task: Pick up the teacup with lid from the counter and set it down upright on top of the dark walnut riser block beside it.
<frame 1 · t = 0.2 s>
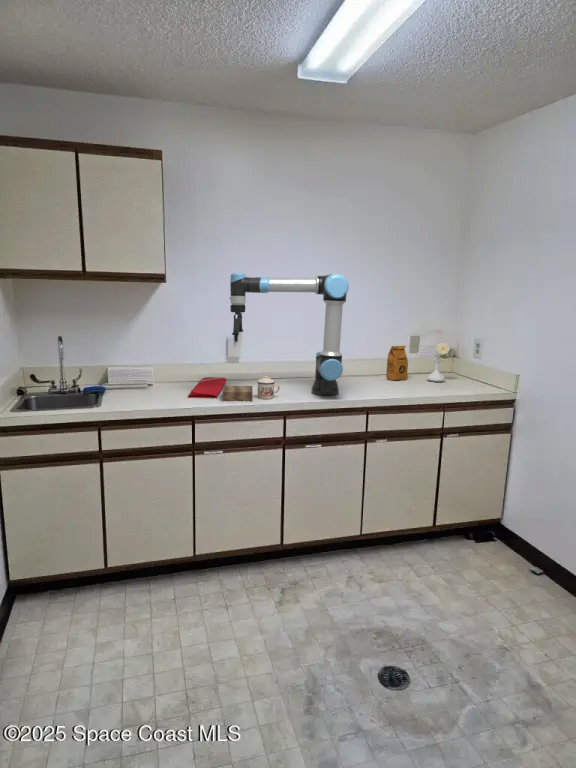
hand: (237, 346, 262), 27 cm above the worktop, tool pointing down, fingers open, 13 cm apart
coffee package: (396, 380, 327), on the worktop
flower in vase: (436, 381, 325), on the worktop
walnut riser: (237, 398, 267), on the worktop
teacup with lid: (268, 397, 270), on the worktop
dish drying mat: (208, 390, 285), on the worktop
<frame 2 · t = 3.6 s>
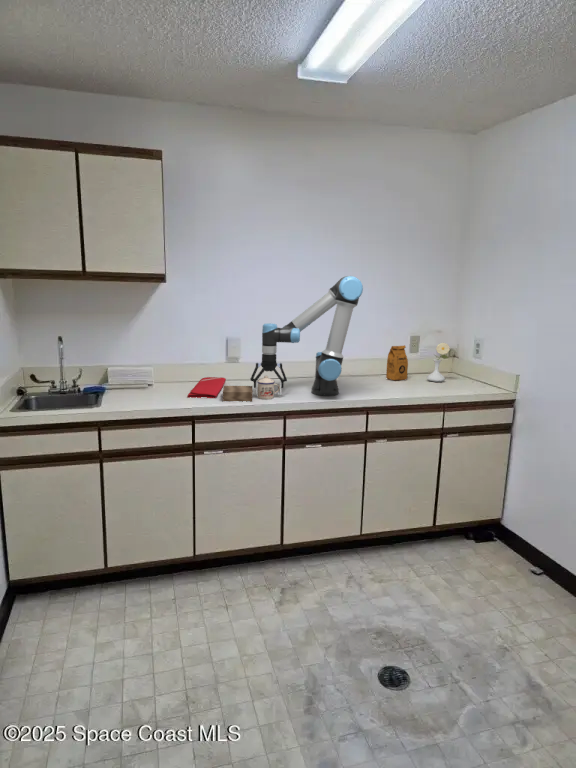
hand: (268, 394, 270), 2 cm above the worktop, tool pointing down, fingers closed on teacup with lid, 12 cm apart
teacup with lid: (268, 397, 270), on the worktop, touching gripper
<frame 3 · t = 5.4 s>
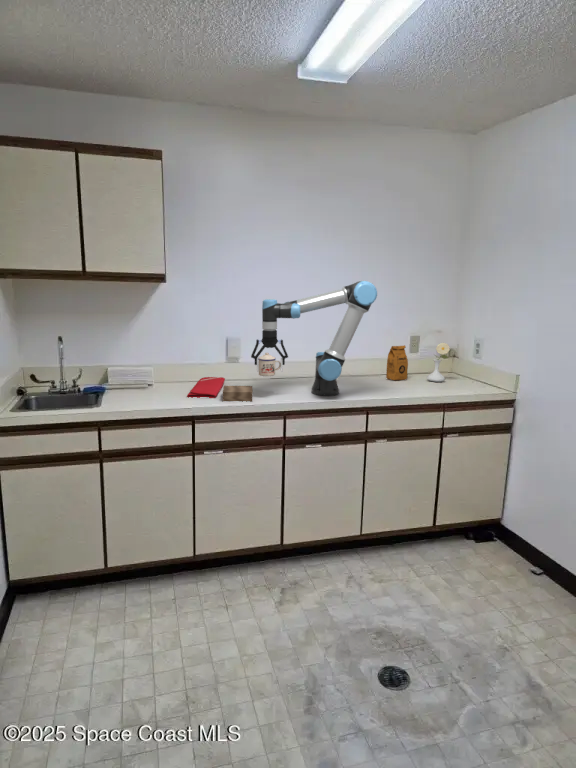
hand: (269, 371, 267), 14 cm above the worktop, tool pointing down, fingers closed on teacup with lid, 12 cm apart
teacup with lid: (269, 375, 268), point 12 cm above the worktop, touching gripper
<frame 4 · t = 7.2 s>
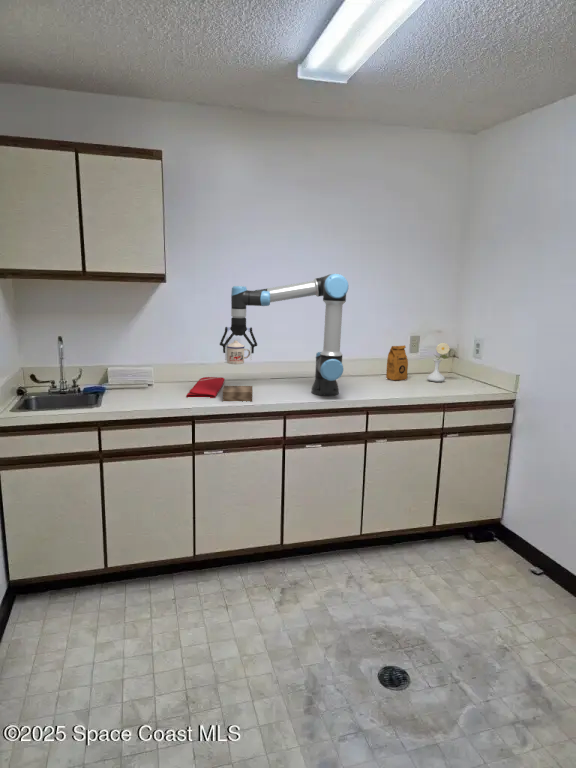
hand: (238, 359, 263), 20 cm above the worktop, tool pointing down, fingers closed on teacup with lid, 12 cm apart
teacup with lid: (238, 363, 263), point 18 cm above the worktop, touching gripper
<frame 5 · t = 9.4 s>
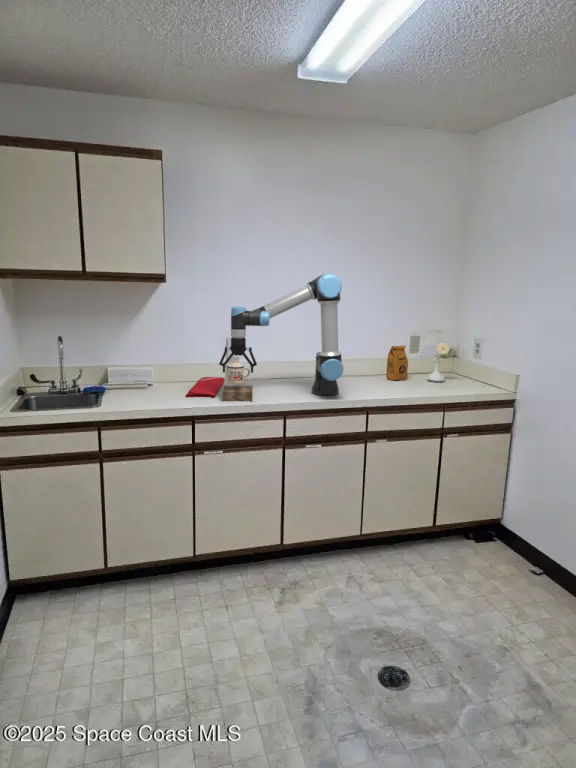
hand: (238, 378, 265), 10 cm above the worktop, tool pointing down, fingers closed on teacup with lid, 12 cm apart
teacup with lid: (238, 382, 265), point 8 cm above the worktop, touching gripper
when the fingers open (8 cm above the worktop, at t = 11.1 s): teacup with lid drops 1 cm, resting on walnut riser.
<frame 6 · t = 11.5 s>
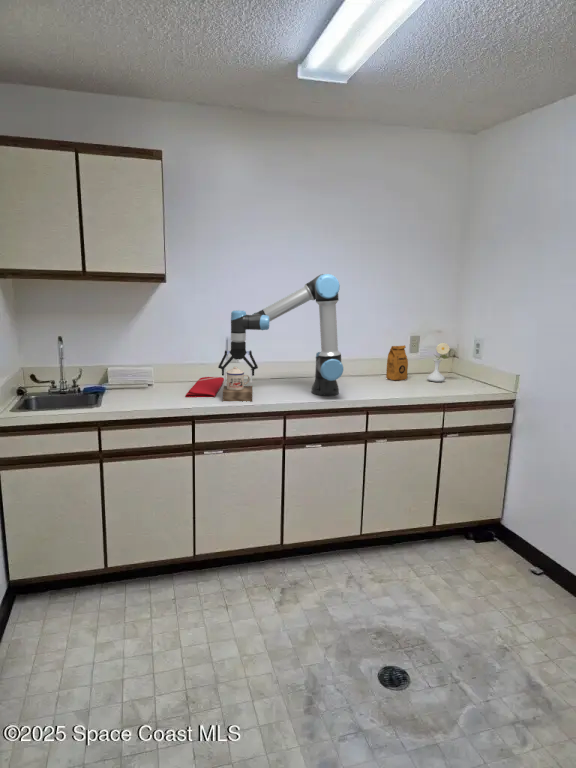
hand: (238, 381, 265), 9 cm above the worktop, tool pointing down, fingers open, 13 cm apart
teacup with lid: (238, 389, 266), point 5 cm above the worktop, touching walnut riser
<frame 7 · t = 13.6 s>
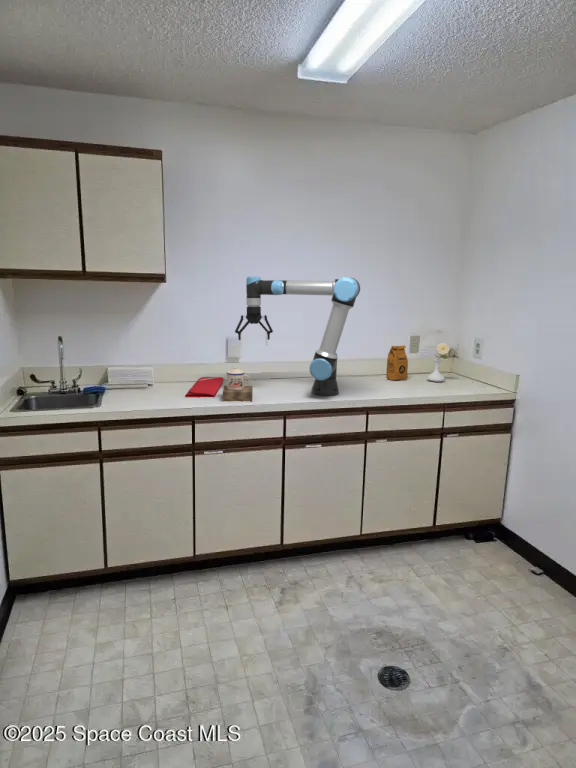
hand: (254, 346, 275), 26 cm above the worktop, tool pointing down, fingers open, 13 cm apart
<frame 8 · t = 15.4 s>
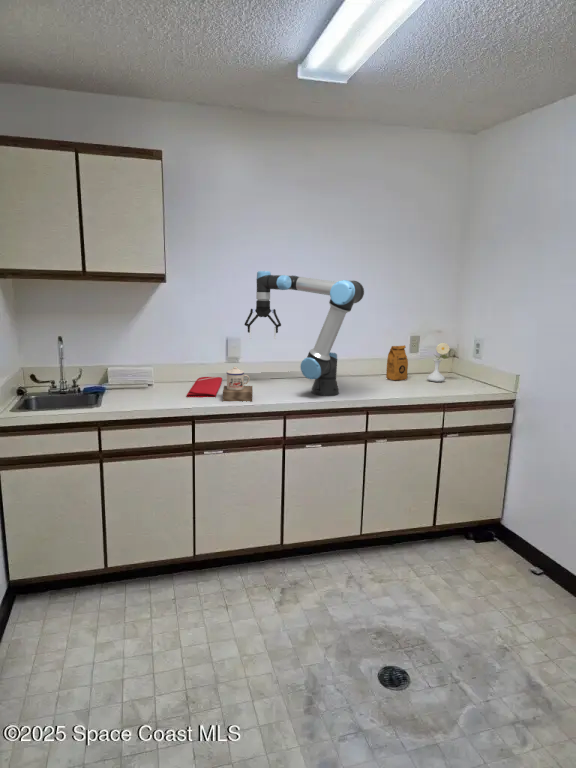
hand: (262, 338, 284), 29 cm above the worktop, tool pointing down, fingers open, 13 cm apart
at the end: teacup with lid inside the target area on the walnut riser (0.0 cm from its centre), point 4.8 cm above the walnut riser's base; teacup with lid tilted 0°; the gripper is holding nothing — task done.
